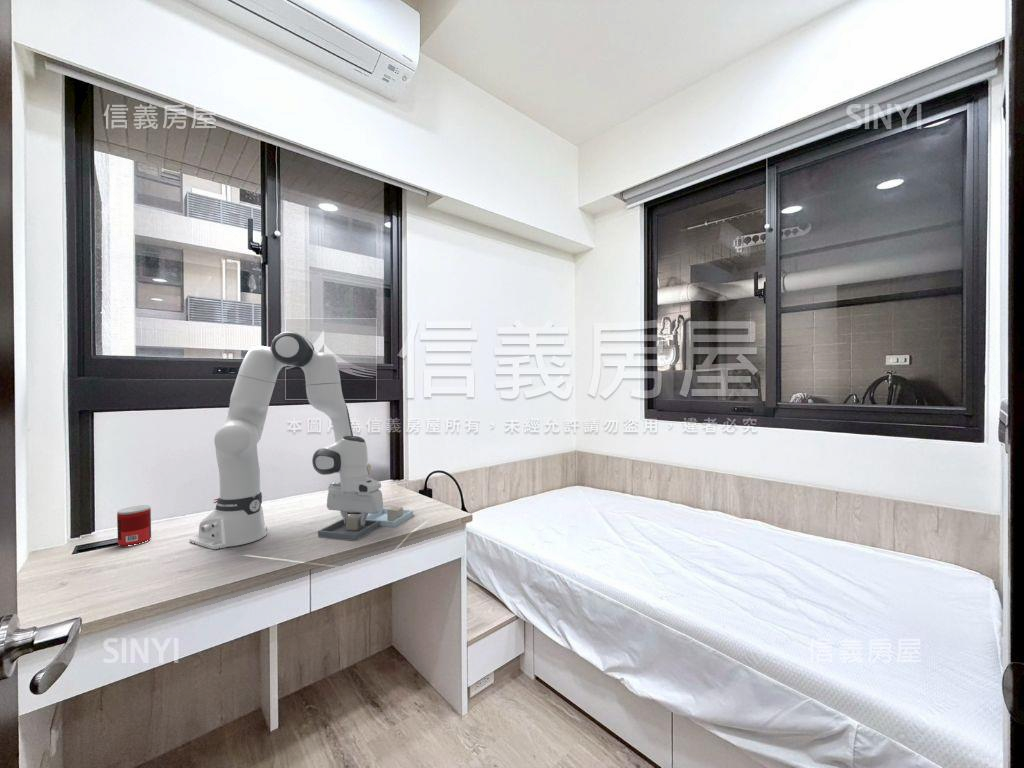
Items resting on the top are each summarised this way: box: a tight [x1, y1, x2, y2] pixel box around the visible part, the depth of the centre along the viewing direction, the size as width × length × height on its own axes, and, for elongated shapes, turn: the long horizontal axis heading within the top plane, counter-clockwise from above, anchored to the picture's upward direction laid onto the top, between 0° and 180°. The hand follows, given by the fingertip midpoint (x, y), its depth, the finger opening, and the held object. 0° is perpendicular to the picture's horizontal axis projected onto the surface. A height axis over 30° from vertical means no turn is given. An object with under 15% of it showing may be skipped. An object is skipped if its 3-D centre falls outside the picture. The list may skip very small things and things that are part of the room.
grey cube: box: [387, 506, 404, 521], centre depth 151 cm, size 4×4×4 cm
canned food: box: [116, 504, 152, 547], centre depth 133 cm, size 8×8×11 cm
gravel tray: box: [317, 518, 381, 542], centre depth 139 cm, size 14×13×2 cm
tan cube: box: [346, 513, 362, 530], centre depth 142 cm, size 4×4×4 cm
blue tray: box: [365, 507, 414, 528], centre depth 151 cm, size 13×13×2 cm
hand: (354, 524), depth 142 cm, fingers closed on tan cube, 4 cm apart
